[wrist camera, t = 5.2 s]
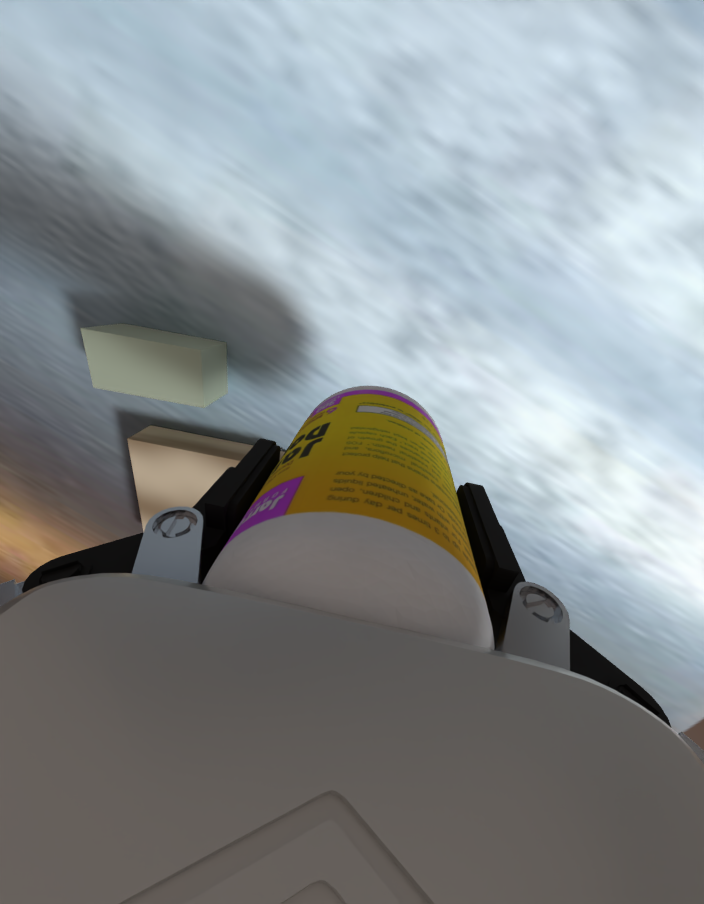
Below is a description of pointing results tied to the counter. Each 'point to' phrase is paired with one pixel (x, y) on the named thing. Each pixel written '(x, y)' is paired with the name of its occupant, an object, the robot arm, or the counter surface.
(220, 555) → the supplement bottle
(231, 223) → the counter surface
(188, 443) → the maple slab
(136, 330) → the sage brick
